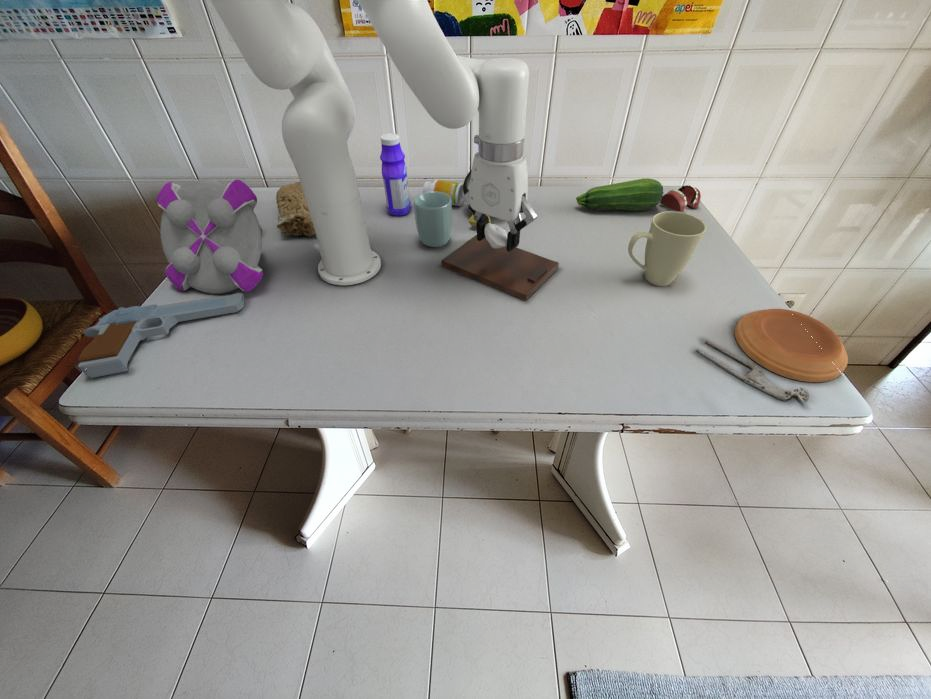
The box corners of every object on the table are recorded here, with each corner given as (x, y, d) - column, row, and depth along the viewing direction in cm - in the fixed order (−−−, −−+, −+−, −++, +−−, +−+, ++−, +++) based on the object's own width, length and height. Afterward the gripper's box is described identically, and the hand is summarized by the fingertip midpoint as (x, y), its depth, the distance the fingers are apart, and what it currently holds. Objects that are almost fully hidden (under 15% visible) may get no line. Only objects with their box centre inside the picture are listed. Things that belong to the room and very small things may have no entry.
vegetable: (669, 177, 96) (581, 177, 97) (665, 210, 99) (578, 210, 99) (657, 179, 103) (574, 180, 104) (653, 210, 105) (572, 210, 106)
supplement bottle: (461, 179, 102) (425, 174, 104) (456, 200, 102) (419, 194, 104) (467, 189, 107) (432, 184, 110) (461, 209, 107) (426, 204, 109)
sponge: (328, 241, 97) (336, 187, 108) (311, 214, 90) (322, 159, 101) (275, 252, 98) (288, 197, 109) (255, 226, 92) (271, 171, 103)
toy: (183, 130, 73) (242, 154, 87) (111, 237, 78) (178, 243, 93) (284, 233, 73) (326, 240, 88) (205, 332, 79) (257, 323, 93)
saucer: (725, 302, 73) (718, 315, 76) (771, 369, 62) (761, 383, 64) (818, 301, 73) (808, 314, 75) (881, 369, 62) (868, 382, 64)
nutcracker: (693, 349, 69) (710, 335, 71) (692, 352, 69) (709, 338, 71) (799, 410, 60) (815, 392, 61) (796, 414, 60) (812, 395, 62)
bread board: (441, 266, 87) (441, 257, 86) (478, 239, 95) (478, 231, 93) (525, 301, 79) (526, 292, 77) (558, 269, 86) (559, 260, 85)
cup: (448, 253, 91) (446, 209, 84) (413, 250, 92) (408, 206, 85) (456, 235, 96) (455, 192, 89) (423, 232, 97) (419, 189, 90)
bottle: (409, 217, 102) (400, 141, 90) (386, 217, 102) (374, 141, 90) (412, 203, 107) (404, 130, 95) (390, 203, 107) (379, 130, 95)
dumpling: (480, 239, 86) (483, 219, 84) (504, 242, 87) (508, 223, 85) (484, 251, 80) (488, 231, 78) (511, 254, 81) (515, 234, 79)
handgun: (71, 383, 65) (99, 323, 75) (242, 351, 71) (246, 299, 81) (57, 368, 63) (87, 308, 73) (235, 336, 69) (240, 284, 79)
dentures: (663, 185, 101) (687, 179, 105) (655, 203, 104) (678, 197, 108) (684, 196, 98) (708, 190, 101) (675, 215, 101) (699, 208, 105)
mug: (644, 259, 88) (662, 204, 80) (690, 278, 83) (715, 222, 75) (616, 281, 83) (632, 225, 75) (663, 303, 78) (686, 246, 69)
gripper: (446, 144, 72) (451, 238, 85) (535, 167, 65) (525, 266, 78) (472, 132, 76) (472, 223, 89) (557, 151, 69) (545, 248, 82)
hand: (497, 242), depth 83 cm, fingers closed on dumpling, 6 cm apart
